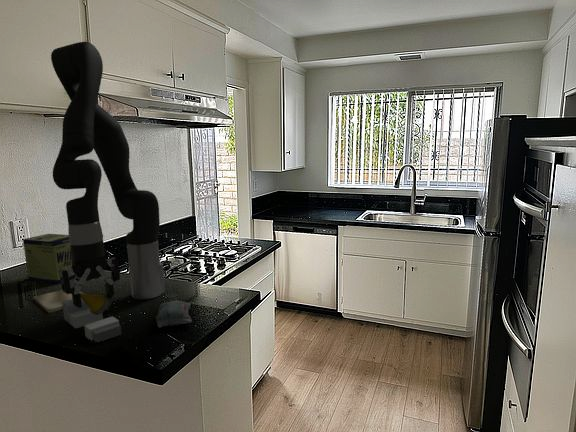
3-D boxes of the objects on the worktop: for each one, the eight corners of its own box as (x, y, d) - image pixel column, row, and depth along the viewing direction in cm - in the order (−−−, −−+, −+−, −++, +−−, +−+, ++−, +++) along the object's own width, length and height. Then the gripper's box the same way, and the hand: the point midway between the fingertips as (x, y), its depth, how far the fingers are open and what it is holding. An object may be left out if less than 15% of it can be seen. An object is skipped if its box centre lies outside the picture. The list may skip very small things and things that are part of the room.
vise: (90, 311, 118) (88, 295, 117) (123, 334, 103) (121, 315, 102) (64, 319, 113) (62, 301, 112) (94, 344, 98) (92, 324, 97)
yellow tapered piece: (115, 314, 108) (85, 299, 100) (100, 321, 109) (68, 307, 102) (117, 296, 111) (88, 281, 104) (102, 304, 112) (72, 289, 105)
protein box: (58, 284, 144) (53, 241, 142) (27, 280, 150) (21, 239, 147) (83, 275, 154) (78, 235, 151) (53, 272, 159) (47, 233, 157)
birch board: (74, 289, 138) (74, 286, 138) (92, 301, 126) (92, 298, 126) (33, 299, 129) (33, 296, 129) (49, 312, 118) (48, 309, 118)
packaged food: (191, 311, 116) (190, 294, 115) (192, 329, 105) (190, 310, 104) (159, 315, 114) (158, 298, 113) (156, 334, 103) (154, 315, 102)
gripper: (108, 233, 111) (115, 291, 114) (50, 243, 100) (59, 307, 103) (121, 236, 106) (128, 297, 108) (60, 248, 95) (70, 315, 98)
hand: (94, 302), depth 106 cm, fingers closed on yellow tapered piece, 7 cm apart
